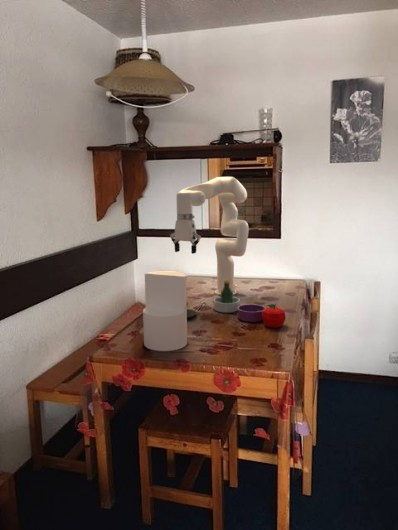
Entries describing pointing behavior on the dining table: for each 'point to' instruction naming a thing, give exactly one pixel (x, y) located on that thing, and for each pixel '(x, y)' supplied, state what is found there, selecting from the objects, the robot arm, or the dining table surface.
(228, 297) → the bottle
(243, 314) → the plum bowl
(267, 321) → the apple
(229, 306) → the pale bowl
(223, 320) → the dining table surface
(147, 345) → the cylinder
